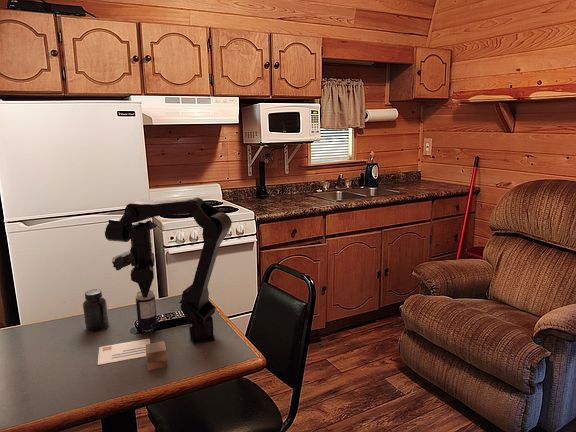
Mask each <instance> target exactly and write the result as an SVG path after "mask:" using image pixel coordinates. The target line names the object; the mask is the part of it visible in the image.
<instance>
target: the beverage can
mask: <svg viewBox="0 0 576 432" xmlns="http://www.w3.org/2000/svg"><path fill="white" fill-rule="evenodd" d="M155 296H156V295H155V294H154V291H152V289H150V290H149V293H148V296H147V298H143V296H142V293H141V290H140V291H138V292H136V296H135V307H136V316H137V317H136V318H137V327H138V326H139V328H140V329H139V328H138V329H139V330H140V331H141V330H142V331H141V332H143V331H145V332H144V333H148V332H152V331H154V330H155V329H156V328H157V326H158V318H157V308H156V307H157V306H156V305H157V304H156V297H155ZM156 324H157V325H156ZM154 328H155V329H154ZM153 329H154V330H153ZM151 330H152V331H151Z"/></svg>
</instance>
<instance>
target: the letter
mask: <svg viewBox="0 0 576 432" xmlns="http://www.w3.org/2000/svg"><path fill="white" fill-rule="evenodd" d="M146 344H151V339H150V338H144V339H138V340H133V341H127V342H120V343H115V344H109V345H104V346H99V347H98V357H97V365H98V366H100V365H105V364H113V363H116V362H118V363H119V362H122V361H128V360H134V359H137V358H139V359H141V358H143V357H144V358H145V357H146Z"/></svg>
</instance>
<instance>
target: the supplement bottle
mask: <svg viewBox="0 0 576 432" xmlns="http://www.w3.org/2000/svg"><path fill="white" fill-rule="evenodd" d="M84 297H85V298H84V299H85V300H84V302H83V303H82V309H83V316H84V323H85V329H86V330H87V331H88V332H100V331H103V330H105V329H107V328H108V327H109V325H110V322H109V312H108V305H107V300H106V298H105V297H103V293H102V289H99V288H96V289H94V288H93V289H90V290H87V291H86V292H85V293H84Z"/></svg>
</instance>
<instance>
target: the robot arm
mask: <svg viewBox="0 0 576 432" xmlns="http://www.w3.org/2000/svg"><path fill="white" fill-rule="evenodd" d="M185 214H188V215H190V216H191V217H192V218H193V219H194V221H195V223H196V224H197V225H198V226H199V227H200V228H202V240H203V245H202V249H201V252H200V257H199V260H198V263H197V266H196V271H195V274H194V277H193V281H192V283H191V284H190V285H189V286H188V287H187V288H185V289H184V290H183V291H182V294H181V300H180V301H179V304H180V311H182V313H183V315H184V318H185V319H186V322H187V325H188V335H189V339H190V340H191V341H192V343H193V345H194V344H199V343H200V344H202V343H206V342H211V341H212V342H213V341H215V340H216V338H215V335H214V320H213V315H214V314H215V313H216V309H217V308H216V306H215V305H214V304H213V302H211V300H209V298H210V297H209V295H210V292H209V289H208V286H209V283H210V280H211V276H212V273H213V270H214V268H215V267H214V266H215V262H216V259H217V256H218V252H219V250H220V246H221V244H222V243H223V241H224V240H225V238H226V236H228V233H229V232H230V230H231V228H232V219H231V217H230V216H229V215H228V214H227V213H225V212H222V211H221V210H219V209H218V208H217V207H215V206H213V205H211V204H209V203H207V202H206V201H204V200H203V199H202V198H200V197H198V196H196V197H193V198H186V199H178V200H177V199H176V200H168V201H154V200H149V199H141V200H137V201H134V202H131V203H130V202H129V203H128V204H126V206H125V208H124V213H123V215H122V217H121V218H120V219H118V218H115V217H114V218H110V219H108V224H107V225H106V228H105V231H104V236H105V239H106V240H107V241H110V242H117V243H118V242H119V243H127V242H129V241H130V249H129V250H127V251H125V252H122V253H120V254H117V255H115V256H114V257H112V259H111V262H112V267H113V268H114V269H115V270H116V271H120V270H122V269H124V268H126V267H127V266H128V267H129V266H131V267H133V268H132V269H130V281H132V282H133V283H136V284H137V285H138V287H139V290H140V291H141V293H142V296H143V298H147V296H148V293H149V290H151V287H152V284H153V282H154V279H155V272H154V266H155V254H154V252H153V247H152V246H153V244H152V236H151V235H152V234H151V230H153V229H155V228H157V224H155V223H154V222H153V221H152V220H151V218H156V217H165V216H175V215H185ZM146 220H147V221H146ZM143 221H144V222H143Z"/></svg>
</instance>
